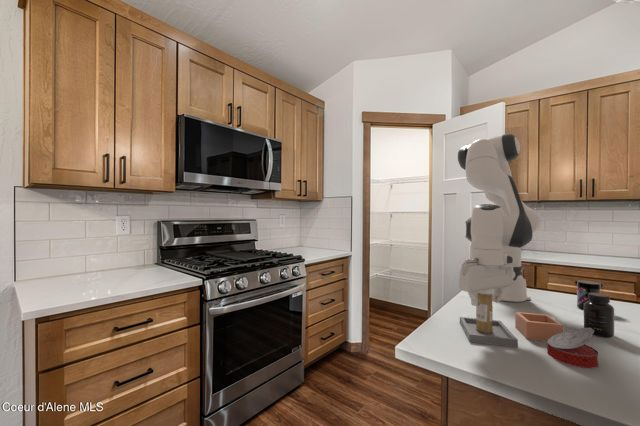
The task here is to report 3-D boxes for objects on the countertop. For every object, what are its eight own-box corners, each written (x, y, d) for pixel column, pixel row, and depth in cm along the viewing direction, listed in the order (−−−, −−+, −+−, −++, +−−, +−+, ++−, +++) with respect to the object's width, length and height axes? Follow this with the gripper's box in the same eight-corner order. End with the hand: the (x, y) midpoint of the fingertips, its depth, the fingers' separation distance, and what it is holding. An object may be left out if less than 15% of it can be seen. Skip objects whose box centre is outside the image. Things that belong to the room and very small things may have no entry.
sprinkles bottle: (496, 333, 88) (496, 287, 88) (483, 334, 87) (483, 288, 87) (484, 327, 92) (485, 284, 92) (472, 328, 91) (472, 284, 91)
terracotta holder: (515, 327, 94) (515, 311, 94) (548, 330, 92) (548, 314, 92) (526, 338, 86) (526, 321, 86) (563, 343, 83) (563, 325, 83)
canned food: (586, 388, 69) (581, 356, 67) (540, 364, 79) (534, 335, 76) (612, 359, 73) (607, 327, 70) (565, 339, 82) (559, 310, 79)
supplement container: (579, 305, 119) (579, 279, 119) (602, 309, 114) (602, 282, 114) (574, 308, 115) (574, 281, 115) (597, 313, 110) (598, 285, 110)
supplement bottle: (584, 327, 95) (584, 290, 95) (614, 333, 90) (614, 294, 90) (582, 333, 90) (583, 294, 90) (614, 340, 86) (614, 299, 86)
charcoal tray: (459, 322, 98) (459, 316, 98) (500, 327, 95) (500, 320, 95) (469, 341, 84) (469, 334, 84) (517, 347, 80) (517, 339, 80)
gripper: (472, 261, 82) (471, 311, 82) (517, 257, 91) (517, 302, 91) (453, 258, 88) (452, 304, 88) (497, 254, 96) (497, 297, 96)
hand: (486, 303), depth 89 cm, fingers open, 8 cm apart
